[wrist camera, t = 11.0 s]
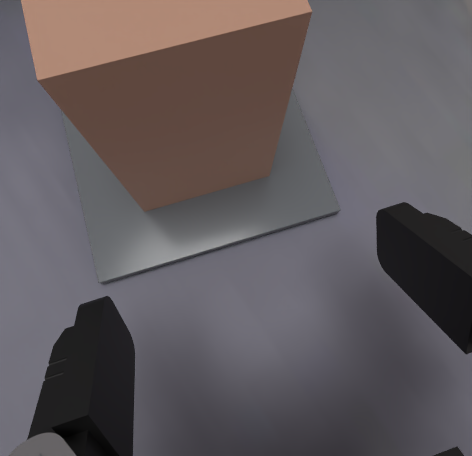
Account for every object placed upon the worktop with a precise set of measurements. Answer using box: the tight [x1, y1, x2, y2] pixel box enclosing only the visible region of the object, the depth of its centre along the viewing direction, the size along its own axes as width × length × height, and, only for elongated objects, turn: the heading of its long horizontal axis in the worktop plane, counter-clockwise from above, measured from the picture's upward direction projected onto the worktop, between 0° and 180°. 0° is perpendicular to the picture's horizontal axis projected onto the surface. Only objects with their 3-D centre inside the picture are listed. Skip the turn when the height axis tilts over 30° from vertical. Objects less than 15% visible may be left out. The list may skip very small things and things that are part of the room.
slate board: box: [61, 89, 340, 284], centre depth 19 cm, size 12×12×1 cm
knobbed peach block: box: [21, 0, 312, 212], centre depth 13 cm, size 6×6×11 cm
